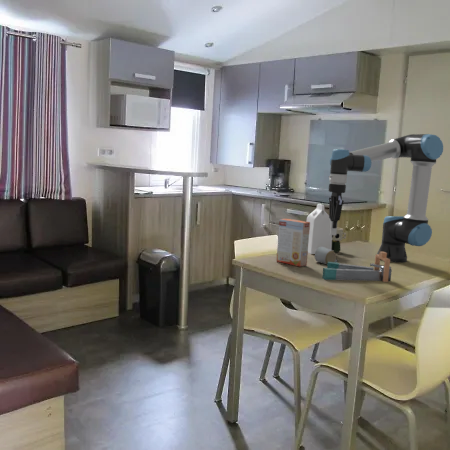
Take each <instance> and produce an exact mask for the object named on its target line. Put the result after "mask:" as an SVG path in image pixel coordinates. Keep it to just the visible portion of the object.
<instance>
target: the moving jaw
mask: <svg viewBox="0 0 450 450" xmlns="http://www.w3.org/2000/svg"><path fill="white" fill-rule="evenodd" d="M326 266H327V267H326V268H335V269H362V270H374V267H379V269H380V268H381V269H384V265H383V264H380V265H378V264H375V262H374V263H373V262H372V263H370V264H369V266H366V265H365V266H364V265H357V264H356V265H355V264H349V263H348V264H347V263H341V262H337V263H336V262H328V263H327V264H326ZM391 269H392V266H390V267H389V270H391Z"/></svg>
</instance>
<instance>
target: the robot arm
mask: <svg viewBox="0 0 450 450" xmlns="http://www.w3.org/2000/svg"><path fill="white" fill-rule="evenodd" d="M443 152H444V144H443V141H442V139H441V138H440V137H439V136H438V135H436V134H432V133H431V134H429V133H425V134H424V133H419V134H417V133H416V134H415V133H413V134H408V135H404V136H399V137H397V138H396V137H395V138H393V139H390V140H388V142H385V143H382V144H376V145H373V146H368V147H365V148H360V149H357V150H353V151H349V149H340V148H339V149H337V148H334V149H332V152H331V157H330V158H329V165H330V172H329V176H328V178H329V184H328V192H329V193H331V196H330V197H329V198H328V203H329V204H328V205H329V206H328V213H329V214H328V215H329V218H330V220H331V223H330V234H329V235H336V232H337V228H338V222H339V221H340V219H341V215H342V208H343V205H344V200H343V197H342V194H344V193H346V189H347V185H346V184H347V181H348V180H347V179H348V172H360V173H363V172H364V173H365V172H369V171H370V170H371V167H372V163H374V162H379V161H382V160H386V159H390V158H392V159H400V158H406V159H407V158H409V159H410V163H411V164H412V173H411V181H410V187H409V188H410V189H409V198H408V204H407V210H406V211H407V212H406V214H405V215H404V216H401V215H400V216H398V215H397V216H396V215H394V216H391V215H390V216H389V215H388V216H387V215H386V216H385V217H384V219H383V223H382V235H381V243H380V246H379V248H378V251H377V253H376V254H379V252H386V253H387V257H386V258H388V259H390V263H397V264H398V263H403V264H404V263H406V262H407V261H408V254H407V250H406V244H408V245H410V246H414V247H423V246H425V245H426V244H427V243H428V242H429V241H430V240H431V237H432V234H433V229H432V227H431V225H429V218H428V217H427V216H426V215H427V206H428V201H429V200H428V199H429V191H430V183H431V177H432V169H433V166H434V165H436V164H437V160H438V159H439V158H441V156H442V155H443ZM380 261H383V260H381V259H380ZM383 262H384V261H383Z"/></svg>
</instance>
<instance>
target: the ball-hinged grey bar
mask: <svg viewBox="0 0 450 450" xmlns="http://www.w3.org/2000/svg"><path fill="white" fill-rule="evenodd" d="M392 270H393V269H392V268H391V270H389V276H388V282H391V280H392V272H393V271H392ZM383 273H384V269H381V268H379V270H362V269H335V268H327V267H322V279H323V280H327V281H328V280H329V281H330V280H331V281H365V282H366V281H368V282H371V281H372V282H374V281H375V282H376V281H377V282H383ZM388 282H387V283H388Z"/></svg>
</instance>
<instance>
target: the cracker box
mask: <svg viewBox="0 0 450 450" xmlns="http://www.w3.org/2000/svg"><path fill="white" fill-rule="evenodd" d="M278 222H279V223H278V236H277V249H276V250H277V251H276V262H278V263H283V264H287V265H291V266H296V267H299V268H300V267H306V266H307V265H308V254H309V253H308V243H309V231H310V222H306V221H304V220H299V219H293V218H279V221H278Z"/></svg>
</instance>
